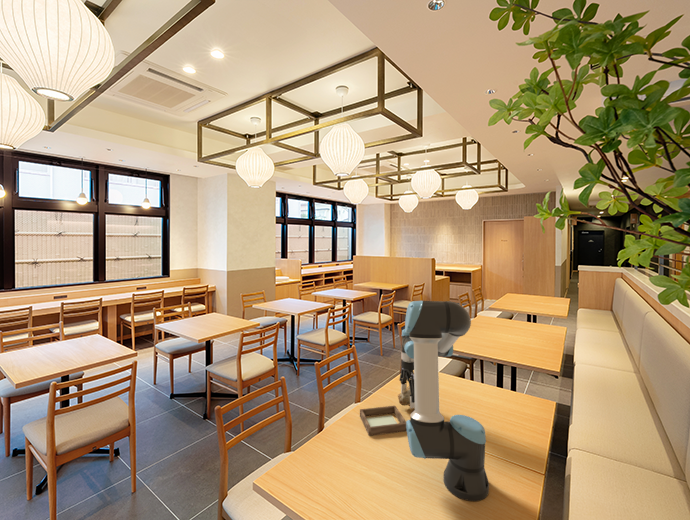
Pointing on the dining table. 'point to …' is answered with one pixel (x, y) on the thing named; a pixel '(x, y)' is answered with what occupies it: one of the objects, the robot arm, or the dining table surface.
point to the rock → (404, 397)
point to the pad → (381, 420)
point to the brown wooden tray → (383, 428)
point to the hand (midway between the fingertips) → (408, 402)
